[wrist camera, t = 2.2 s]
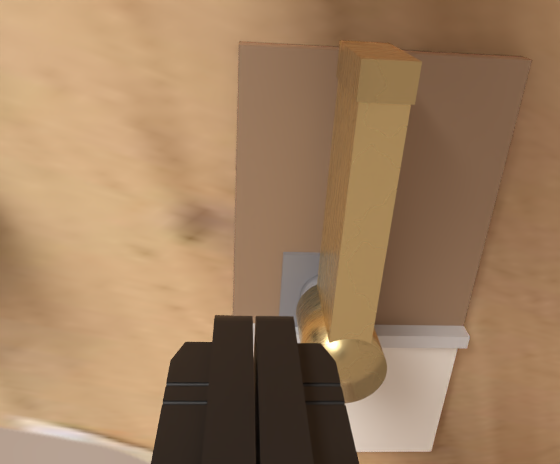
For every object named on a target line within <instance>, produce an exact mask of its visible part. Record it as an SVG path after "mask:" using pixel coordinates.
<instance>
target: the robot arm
mask: <svg viewBox="0 0 560 464" xmlns="http://www.w3.org/2000/svg"><path fill="white" fill-rule="evenodd" d="M151 464H359V461H358V457H357V453H356V448H355V444H354V439H353V435H352V431H351V426H350V422H349V417H348V413H347V409H346V405H345V400H344V395H343V391H342V387H341V382H340V378H339V373H338V369H337V365H336V361H335V360H334V359H333V357H332V356H331V355H330V354H329V353H328V351H327V350H326V349H325V348H324V347H323V345H322V344H321V343H297V337H296V330H295V322H294V317H293V316H256V318H255V336H254V357H253V316H224V315H215V319H214V330H213V341H212V342H185V343H184V345H183V346H182V347H181V348H180V350H179V351H178V352H177V353H176V354H175V356H174V357H173V358H172V359H171V361H170V367H169V372H168V377H167V385H166V388H165V393H164V398H163V405H162V409H161V414H160V419H159V424H158V429H157V435H156V440H155V445H154V450H153V456H152V461H151Z"/></svg>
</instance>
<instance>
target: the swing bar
mask: <svg viewBox="0 0 560 464" xmlns="http://www.w3.org/2000/svg"><path fill="white" fill-rule="evenodd" d="M421 66H422V61H420V60H418V59H416V58H415V57H413V56H411V55H409V54H408V53H406V52H404V51H402V50H401V49H399V48H397V47H395V46H394V45H392V44H390V43H379V42H360V41H341V40H340V43H339V53H338V63H337V73H336V77H337V78H338V87H337V96H336V106H335V115H334V125H333V135H332V144H331V154H330V164H329V173H328V183H327V193H326V202H325V212H324V221H323V231H322V241H321V250H320V260H319V270H318V279H317V285H315V286H313V287H311V288H310V289H308V290H307V291H306V292H305V293H304V294H303V295H302V296H301V298H300V299H299V301H298V304H297V307H296V318H297V325H298V332H299V339H300V343H321V344H322V345H323V347H324V348H325V349H326V350H327V351H328V353H329V354H330V355H331V356H332V357H333V359H334V360H335V361H336V365H337V369H338V373H339V378H340V382H341V387H342V391H343V395H344V400H345V403H352V402H356V401H359V400H362V399H364V398H366V397H368V396H370V395H371V394H373V393H374V392H375V391H376V390H377V389H378V388H379V387H380V386H381V385H382V383H383V381H384V379H385V377H386V374H387V362H386V359H385V356H384V353H383V350H382V348H381V345H380V342H379V339H378V336H377V333H376V330H375V328H374V324H375V318H376V312H377V306H378V300H379V294H380V288H381V282H382V276H383V270H384V264H385V258H386V252H387V246H388V240H389V234H390V228H391V222H392V216H393V210H394V204H395V198H396V192H397V186H398V180H399V174H400V168H401V162H402V156H403V150H404V144H405V138H406V132H407V126H408V120H409V114H410V108H411V105H415V101H416V95H417V90H418V84H419V78H420V72H421Z"/></svg>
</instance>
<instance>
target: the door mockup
mask: <svg viewBox="0 0 560 464" xmlns="http://www.w3.org/2000/svg"><path fill="white" fill-rule="evenodd" d="M402 51H404V52H406V53H408V54H409V55H411V56H413V57H415V58H416V59H418V60H420V61H422V66H421V72H420V78H419V84H418V90H417V95H416V101H415V105H411V108H410V114H409V120H408V126H407V132H406V138H405V144H404V150H403V156H402V162H401V168H400V174H399V180H398V186H397V192H396V198H395V204H394V210H393V216H392V222H391V228H390V234H389V240H388V246H387V252H386V258H385V264H384V270H383V276H382V282H381V288H380V294H379V300H378V306H377V312H376V318H375V324H374V328H375V330H376V333H377V336H378V339H379V342H380V345H381V348H382V350H383V353H384V356H385V359H386V362H387V374H386V377H385V379H384V381H383V383H382V385H381V386H380V387H379V388H378V389H377V390H376V391H375V392H374V393H373V394H371V395H370V396H368V397H366V398H364V399H362V400H359V401H356V402H352V403H345V405H346V409H347V413H348V417H349V422H350V426H351V431H352V435H353V439H354V444H355V448H356V452H431V450H432V446H433V442H434V439H435V435H436V431H437V427H438V423H439V419H440V415H441V411H442V407H443V404H444V400H445V396H446V392H447V388H448V384H449V380H450V376H451V373H452V369H453V365H454V361H455V357H456V353H457V349H458V348H467V347H468V343H469V339H470V336H469V334H468V332H467V331H466V329H465V327H464V322H465V318H466V314H467V310H468V307H469V303H470V299H471V295H472V291H473V287H474V283H475V279H476V275H477V272H478V268H479V264H480V260H481V256H482V252H483V248H484V244H485V241H486V237H487V233H488V229H489V225H490V221H491V217H492V213H493V209H494V206H495V202H496V198H497V194H498V190H499V186H500V182H501V178H502V175H503V171H504V167H505V163H506V159H507V155H508V151H509V147H510V143H511V140H512V136H513V132H514V128H515V124H516V120H517V116H518V112H519V109H520V105H521V101H522V97H523V93H524V89H525V85H526V81H527V77H528V74H529V70H530V66H531V62H532V60H530V59H527V58H524V57H521V56H502V55H483V54H464V53H445V52H426V51H407V50H402ZM338 53H339V47H332V46H313V45H294V44H275V43H256V42H239V64H238V109H237V154H236V199H235V244H234V289H233V316H253V357H254V336H255V318H256V316H293V317H294V322H295V330H296V337H297V343H300V339H299V332H298V325H297V318H296V307H297V304H298V301H299V299H300V298H301V296H302V295H303V294H304V293H305V292H306V291H307V290H308V289H310V288H311V287H313V286H315V285H317V279H318V270H319V260H320V250H321V241H322V231H323V221H324V212H325V202H326V193H327V183H328V173H329V164H330V154H331V144H332V135H333V125H334V115H335V106H336V96H337V87H338V78H337V77H336V73H337V63H338Z"/></svg>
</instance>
